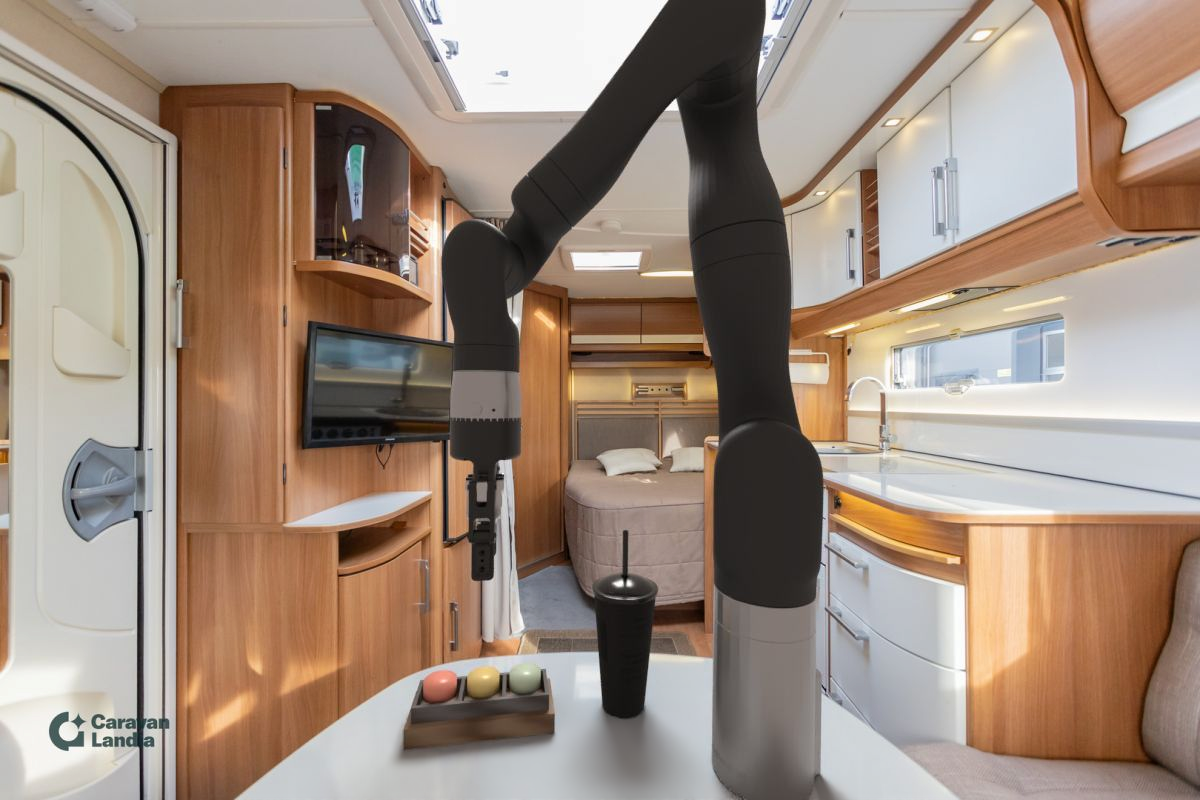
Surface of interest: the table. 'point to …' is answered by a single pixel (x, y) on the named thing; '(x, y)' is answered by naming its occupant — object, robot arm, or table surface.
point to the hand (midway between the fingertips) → (484, 566)
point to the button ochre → (483, 682)
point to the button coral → (440, 687)
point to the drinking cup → (624, 637)
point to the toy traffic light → (479, 716)
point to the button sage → (525, 679)
